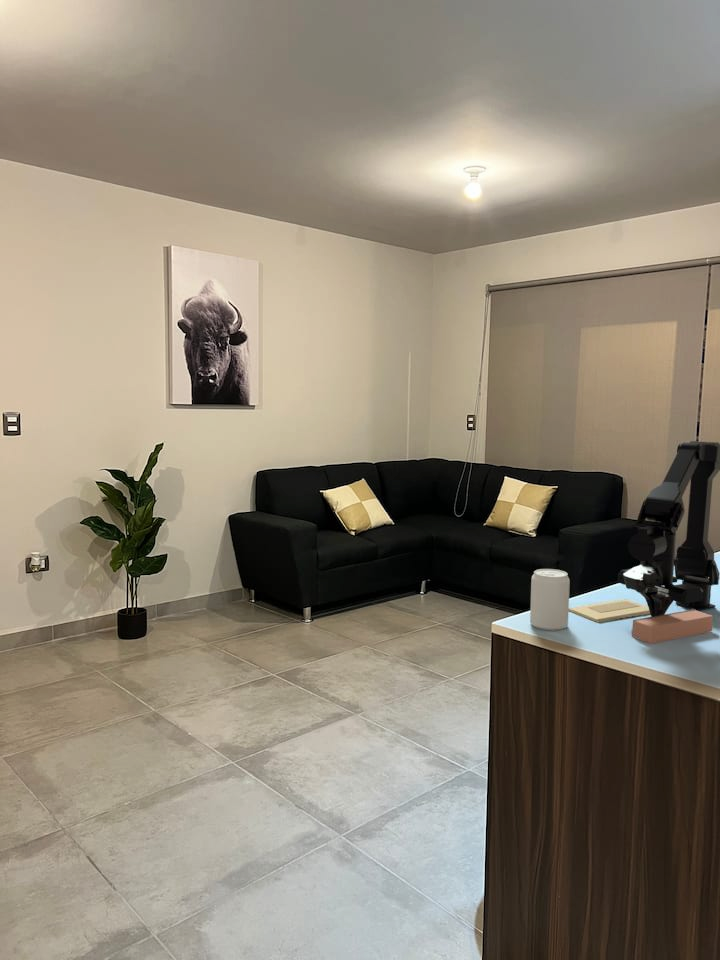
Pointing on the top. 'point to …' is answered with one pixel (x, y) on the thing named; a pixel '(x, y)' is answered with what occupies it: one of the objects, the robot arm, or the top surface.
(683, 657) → the top surface
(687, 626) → the pink long block
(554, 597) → the beverage can
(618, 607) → the tan rectangular slab
